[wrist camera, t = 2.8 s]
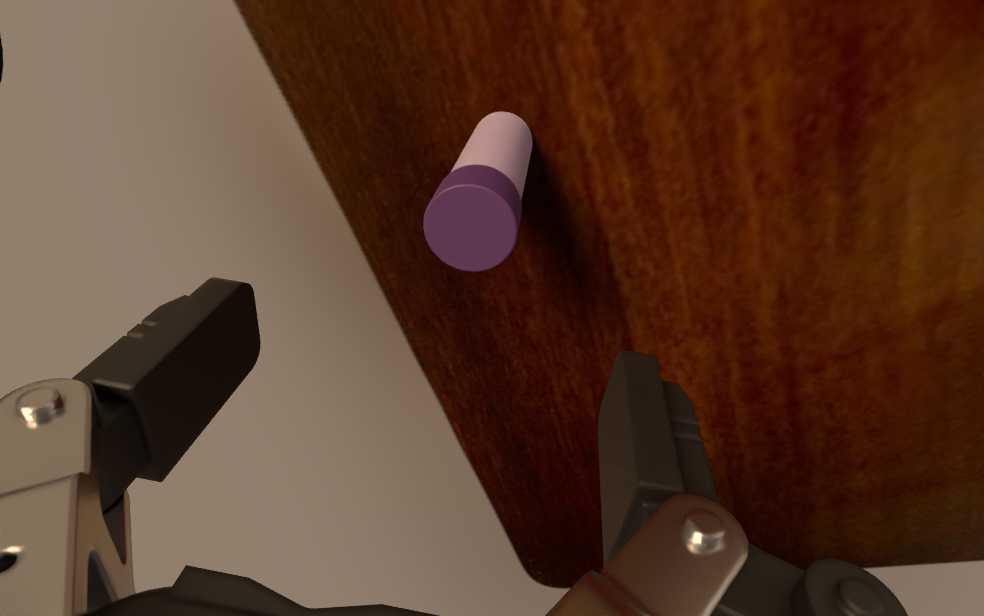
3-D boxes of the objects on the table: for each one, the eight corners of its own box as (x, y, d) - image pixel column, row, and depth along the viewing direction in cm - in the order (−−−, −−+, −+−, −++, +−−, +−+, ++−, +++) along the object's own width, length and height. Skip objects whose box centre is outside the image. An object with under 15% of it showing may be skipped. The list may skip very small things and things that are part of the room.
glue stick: (458, 147, 26) (405, 235, 18) (496, 94, 25) (458, 164, 16) (508, 186, 27) (479, 288, 18) (548, 137, 25) (536, 225, 17)
